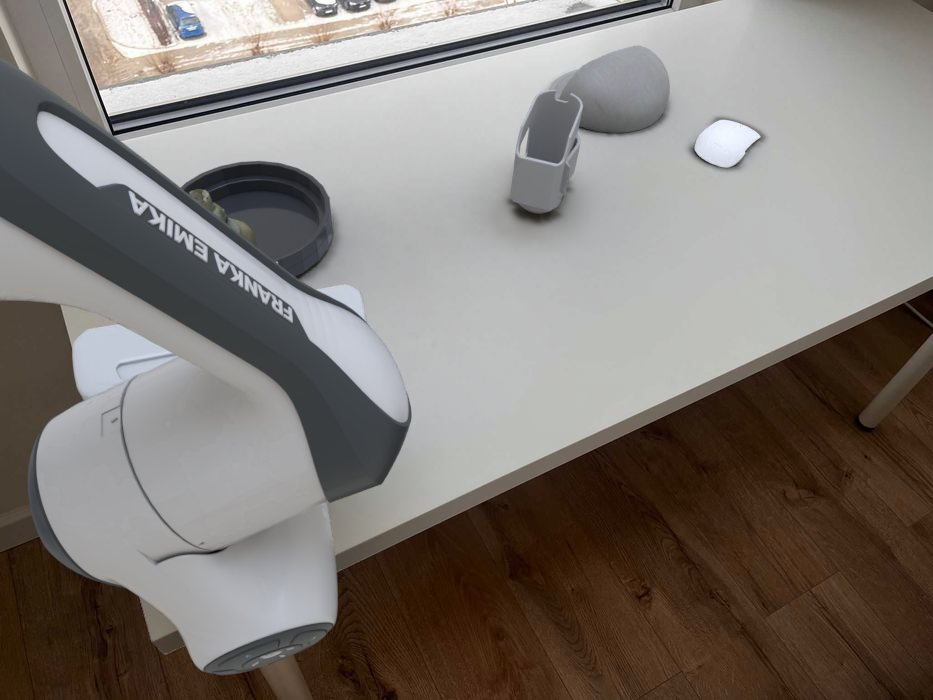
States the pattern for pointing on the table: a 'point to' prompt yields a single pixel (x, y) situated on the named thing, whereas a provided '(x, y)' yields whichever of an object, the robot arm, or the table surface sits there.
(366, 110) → the table surface
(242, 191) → the pan
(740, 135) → the white curved shell
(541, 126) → the cable organizer
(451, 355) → the table surface
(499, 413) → the table surface
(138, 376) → the robot arm
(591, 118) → the gray cap
